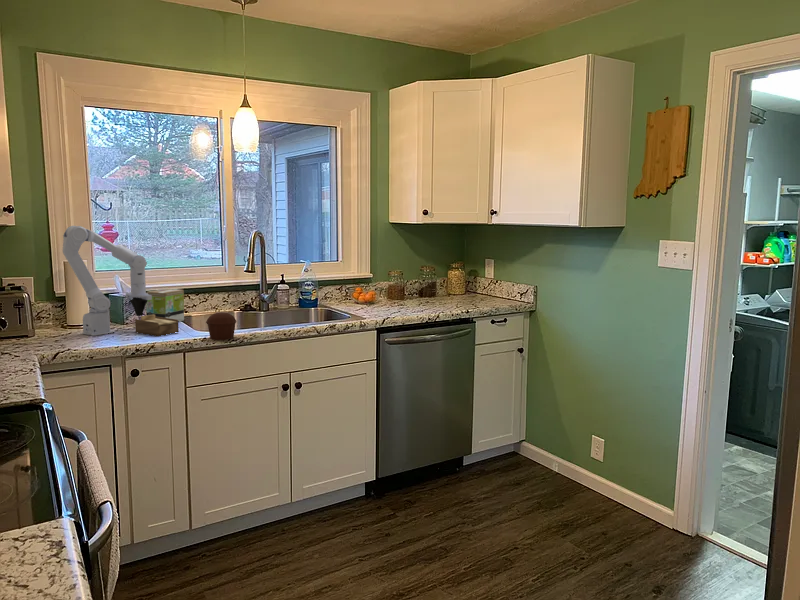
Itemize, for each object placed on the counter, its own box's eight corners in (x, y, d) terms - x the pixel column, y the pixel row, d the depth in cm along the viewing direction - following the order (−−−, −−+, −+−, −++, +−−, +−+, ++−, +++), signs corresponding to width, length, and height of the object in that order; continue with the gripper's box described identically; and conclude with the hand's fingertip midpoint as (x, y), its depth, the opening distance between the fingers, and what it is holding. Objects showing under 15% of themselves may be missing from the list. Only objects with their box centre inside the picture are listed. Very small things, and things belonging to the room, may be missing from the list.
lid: (159, 325, 244) (159, 319, 244) (137, 322, 251) (136, 316, 251) (176, 322, 251) (176, 317, 251) (154, 319, 259) (154, 313, 258)
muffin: (233, 334, 251) (232, 310, 250) (240, 339, 242) (239, 314, 241) (203, 336, 246) (202, 312, 244) (209, 341, 236) (208, 315, 235)
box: (157, 336, 244) (157, 322, 243) (135, 332, 251) (135, 319, 251) (178, 332, 253) (178, 319, 252) (156, 329, 260) (156, 316, 259)
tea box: (166, 325, 270) (165, 292, 268) (146, 324, 272) (144, 291, 270) (185, 320, 284) (184, 288, 282) (165, 319, 286) (164, 288, 284)
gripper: (157, 284, 256) (158, 316, 258) (135, 281, 263) (136, 313, 265) (142, 285, 250) (144, 318, 252) (120, 283, 257) (122, 315, 259)
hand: (139, 315), depth 258 cm, fingers closed
